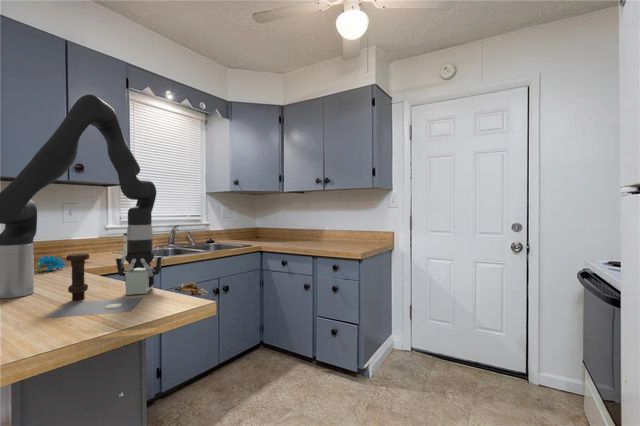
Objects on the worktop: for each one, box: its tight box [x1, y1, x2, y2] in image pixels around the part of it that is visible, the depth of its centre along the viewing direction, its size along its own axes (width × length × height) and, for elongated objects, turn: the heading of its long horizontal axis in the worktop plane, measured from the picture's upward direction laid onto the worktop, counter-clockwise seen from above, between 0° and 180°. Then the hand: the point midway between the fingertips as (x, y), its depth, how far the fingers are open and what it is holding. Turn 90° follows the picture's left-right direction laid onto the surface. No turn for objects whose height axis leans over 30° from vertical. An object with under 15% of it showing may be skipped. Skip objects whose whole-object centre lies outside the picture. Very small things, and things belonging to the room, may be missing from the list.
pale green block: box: [125, 266, 154, 296], centre depth 107 cm, size 6×9×7 cm, turn 16°
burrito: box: [174, 282, 210, 296], centre depth 110 cm, size 7×12×4 cm, turn 89°
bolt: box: [65, 252, 90, 302], centre depth 97 cm, size 6×5×15 cm
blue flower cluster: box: [36, 255, 66, 273], centre depth 145 cm, size 11×6×10 cm
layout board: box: [43, 297, 144, 319], centre depth 90 cm, size 20×14×1 cm
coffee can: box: [122, 232, 127, 257], centre depth 188 cm, size 10×10×14 cm
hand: (140, 287), depth 107 cm, fingers closed on pale green block, 5 cm apart
